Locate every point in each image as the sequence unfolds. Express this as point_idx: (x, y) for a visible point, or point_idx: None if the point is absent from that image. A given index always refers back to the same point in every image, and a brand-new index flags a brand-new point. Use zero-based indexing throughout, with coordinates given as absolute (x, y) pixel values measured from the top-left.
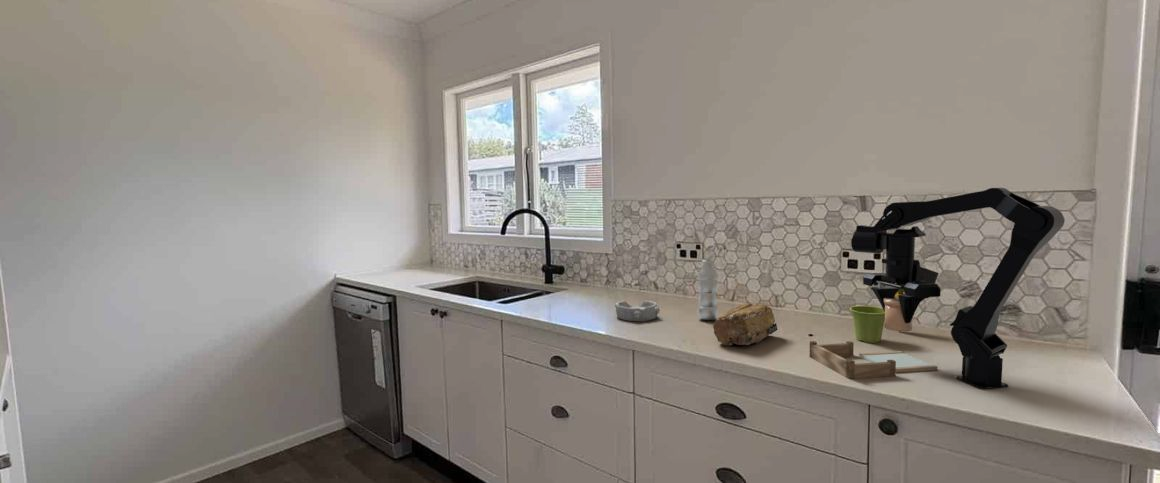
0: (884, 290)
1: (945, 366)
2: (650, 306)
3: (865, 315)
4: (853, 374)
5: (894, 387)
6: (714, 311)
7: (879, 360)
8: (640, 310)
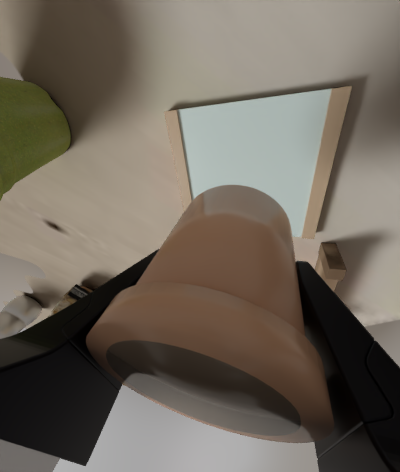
0: (66, 439)
1: (327, 6)
2: None
3: (4, 183)
4: None
5: (394, 286)
6: (25, 311)
7: None
8: None
